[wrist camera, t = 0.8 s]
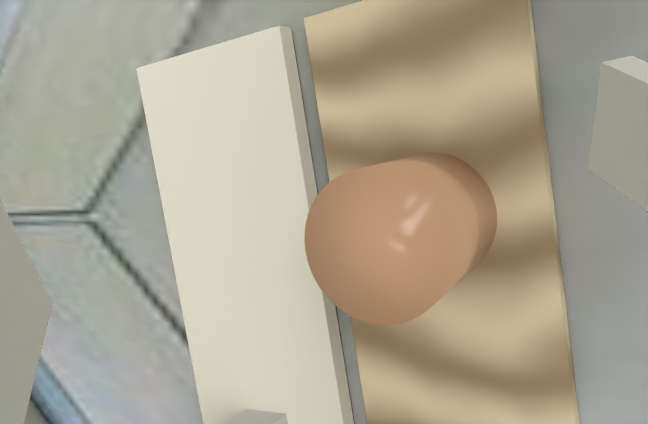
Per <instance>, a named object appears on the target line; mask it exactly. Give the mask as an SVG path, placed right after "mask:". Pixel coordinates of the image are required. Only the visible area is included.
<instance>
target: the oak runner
mask: <svg viewBox="0 0 648 424" xmlns="http://www.w3.org/2000/svg"><path fill="white" fill-rule="evenodd" d="M304 23H305V29H306V36H307V42H308V49H309V55H310V61H311V68H312V74H313V80H314V87H315V93H316V100H317V106H318V112H319V119H320V125H321V131H322V138H323V144H324V151H325V157H326V163H327V170H328V176H329V182H330V181H332V180H333V179H334V178H336V177H338V176H340V175H342V174H343V173H346V172H349V171H352V170H355V169H360V168H364V167H368V166H372V165H376V164H380V163H385V162H389V161H393V160H397V159H401V158H405V157H409V156H414V155H418V154H423V153H442V154H447V155H450V156H453V157H456V158H458V159H460V160H462V161H464V162H466V163H467V164H469V165H470V166H471V167H473V168H474V169H475V170H476V171H477V172H478V173H479V174H480V175H481V176H482V178H483V179H484V180H485V182H486V183H487V185H488V186H489V188H490V190H491V192H492V195H493V198H494V201H495V205H496V210H497V229H496V233H495V237H494V240H493V243H492V245H491V247H490V249H489V251H488V252H487V254H486V255H485V256H484V258H483V259H482V260H481V261H480V262H479V263H478V264H477V265H476V266H475V267H474V268H473V269H471V270H470V271H469V272H468V273H467V274H466V275H465V276H464V277H463V278H462V279H461V280H460V281H459V282H458V283H457V284H455V285H454V286H453V287H452V288H451V289H450V290H449V291H448V292H447V293H446V294H445V295H444V296H443V297H442V298H440V299H439V300H438V301H437V302H436V303H435V304H434V305H433V306H432V307H431V308H430V309H429V310H427V311H426V312H425V313H423V314H422V315H421V316H419V317H417V318H415V319H413V320H411V321H408V322H405V323H401V324H396V325H375V324H371V323H366V322H363V321H361V320H358V319H356V318H354V317H352V316H351V322H352V329H353V335H354V342H355V348H356V354H357V361H358V367H359V373H360V380H361V386H362V393H363V399H364V405H365V412H366V418H367V424H580V422H579V413H578V405H577V396H576V388H575V379H574V370H573V362H572V353H571V345H570V336H569V328H568V319H567V310H566V302H565V293H564V285H563V276H562V267H561V259H560V250H559V242H558V233H557V225H556V216H555V207H554V199H553V190H552V182H551V173H550V164H549V156H548V147H547V139H546V130H545V122H544V113H543V104H542V96H541V87H540V79H539V70H538V61H537V53H536V44H535V36H534V27H533V19H532V10H531V1H530V0H363V1H359V2H356V3H353V4H349V5H346V6H342V7H339V8H336V9H332V10H329V11H326V12H322V13H319V14H316V15H312V16H309V17H306V18H304Z"/></svg>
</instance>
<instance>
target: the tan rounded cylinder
mask: <svg viewBox="0 0 648 424" xmlns="http://www.w3.org/2000/svg"><path fill="white" fill-rule="evenodd" d="M496 229H497V210H496V205H495V201H494V198H493V195H492V192H491V190H490V188H489V186H488V185H487V183H486V182H485V180H484V179H483V178H482V176H481V175H480V174H479V173H478V172H477V171H476V170H475V169H474V168H473V167H471V166H470V165H469V164H467V163H466V162H464V161H462V160H460V159H458V158H456V157H453V156H450V155H447V154H442V153H423V154H418V155H414V156H409V157H405V158H401V159H397V160H393V161H389V162H385V163H380V164H376V165H372V166H368V167H364V168H360V169H355V170H352V171H349V172H346V173H343V174H342V175H340V176H338V177H336V178H334V179H333V180H332V181H330V182H329V183H328V184H327V185H326V186H325V187H324V188H323V189H322V190H321V191H320V193H319V194H318V195H317V197H316V198H315V200H314V202H313V204H312V205H311V208H310V210H309V213H308V216H307V220H306V225H305V238H304V243H305V252H306V256H307V261H308V264H309V267H310V270H311V272H312V274H313V277H314V279H315V281H316V282H317V284H318V286H319V287H320V289H321V290H322V291H323V293H324V294H325V295H326V296H327V298H328V299H329V300H330V301H331V302H332V303H333V304H334V305H336V306H337V307H338V308H339V309H340V310H342V311H343V312H345V313H346V314H348V315H350V316H352V317H354V318H356V319H358V320H361V321H363V322H366V323H371V324H375V325H396V324H401V323H405V322H408V321H411V320H413V319H415V318H417V317H419V316H421V315H422V314H423V313H425V312H426V311H427V310H429V309H430V308H431V307H432V306H433V305H434V304H435V303H436V302H437V301H438V300H439V299H440V298H442V297H443V296H444V295H445V294H446V293H447V292H448V291H449V290H450V289H451V288H452V287H453V286H454V285H455V284H457V283H458V282H459V281H460V280H461V279H462V278H463V277H464V276H465V275H466V274H467V273H468V272H469V271H470V270H471V269H473V268H474V267H475V266H476V265H477V264H478V263H479V262H480V261H481V260H482V259H483V258H484V256H485V255H486V254H487V252H488V251H489V249H490V247H491V245H492V243H493V240H494V237H495V233H496Z"/></svg>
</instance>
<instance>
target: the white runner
mask: <svg viewBox="0 0 648 424" xmlns="http://www.w3.org/2000/svg"><path fill="white" fill-rule="evenodd" d="M137 74H138V79H139V84H140V89H141V95H142V100H143V105H144V111H145V116H146V121H147V127H148V132H149V137H150V143H151V148H152V153H153V158H154V164H155V169H156V174H157V180H158V185H159V190H160V196H161V201H162V206H163V212H164V217H165V222H166V228H167V233H168V238H169V243H170V249H171V254H172V259H173V265H174V270H175V275H176V281H177V286H178V291H179V297H180V302H181V307H182V313H183V318H184V323H185V328H186V334H187V339H188V344H189V350H190V355H191V360H192V366H193V371H194V376H195V382H196V387H197V392H198V398H199V403H200V408H201V413H202V419H203V424H354V420H353V414H352V408H351V401H350V395H349V389H348V383H347V376H346V370H345V364H344V358H343V351H342V345H341V339H340V332H339V326H338V320H337V314H336V307H335V305H334V304H333V303H332V302H331V301H330V300H329V299H328V298H327V296H326V295H325V294H324V293H323V291H322V290H321V289H320V287H319V286H318V284H317V282H316V281H315V279H314V277H313V274H312V272H311V270H310V267H309V264H308V261H307V256H306V252H305V243H304V238H305V225H306V220H307V216H308V213H309V210H310V208H311V205H312V204H313V202H314V200H315V198H316V197H317V188H316V182H315V176H314V169H313V163H312V157H311V151H310V144H309V138H308V132H307V126H306V119H305V113H304V107H303V101H302V94H301V88H300V82H299V75H298V69H297V63H296V57H295V50H294V44H293V38H292V32H291V28H289V27H284V26H276V27H273V28H269V29H266V30H263V31H259V32H256V33H253V34H249V35H246V36H243V37H239V38H236V39H232V40H229V41H226V42H222V43H219V44H216V45H212V46H209V47H206V48H202V49H199V50H196V51H192V52H189V53H186V54H182V55H179V56H176V57H172V58H169V59H165V60H162V61H159V62H155V63H152V64H149V65H145V66H142V67H139V68H137Z"/></svg>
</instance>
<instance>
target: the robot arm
mask: <svg viewBox="0 0 648 424" xmlns="http://www.w3.org/2000/svg"><path fill="white" fill-rule="evenodd" d="M588 170H590V171H591V172H592V173H594V174H595V175H597V176H598V177H599V178H601V179H602V180H604V181H605V182H606V183H608V184H609V185H611V186H612V187H613V188H615V189H616V190H618V191H619V192H620V193H622V194H623V195H625V196H626V197H627V198H629V199H630V200H632V201H633V202H634V203H636V204H637V205H639V206H640V207H641V208H643V209H644V210H646V211H647V212H648V62H646V61H644V60H641V59H639V58H636V57H634V56H628V57H623V58H619V59H614V60H610V61H605V62H601V68H600V76H599V84H598V91H597V99H596V107H595V115H594V122H593V130H592V138H591V146H590V153H589V161H588ZM52 304H53V302H52V300H51V298H50V296H49V294H48V293H47V291H46V289H45V287H44V285H43V283H42V281H41V279H40V277H39V275H38V273H37V271H36V269H35V267H34V265H33V263H32V261H31V259H30V257H29V255H28V253H27V251H26V249H25V247H24V245H23V243H22V241H21V239H20V237H19V235H18V233H17V232H16V230H15V228H14V226H13V224H12V222H11V220H10V218H9V216H8V214H7V212H6V210H5V208H4V206H3V204H2V202H1V200H0V424H24V420H25V416H26V411H27V407H28V403H29V399H30V395H31V391H32V387H33V383H34V378H35V374H36V370H37V366H38V362H39V358H40V353H41V349H42V345H43V341H44V337H45V333H46V329H47V324H48V320H49V316H50V312H51V308H52Z"/></svg>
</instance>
